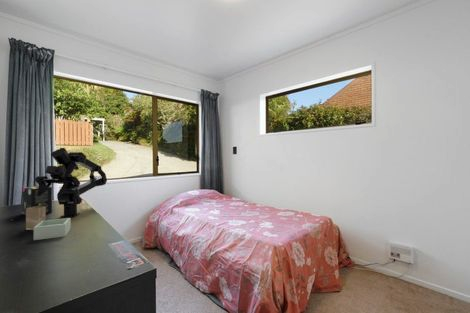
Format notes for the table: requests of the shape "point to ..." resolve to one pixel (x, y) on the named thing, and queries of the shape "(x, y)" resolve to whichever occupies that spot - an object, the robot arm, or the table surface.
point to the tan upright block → (34, 216)
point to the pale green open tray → (52, 228)
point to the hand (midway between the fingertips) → (47, 195)
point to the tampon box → (36, 199)
